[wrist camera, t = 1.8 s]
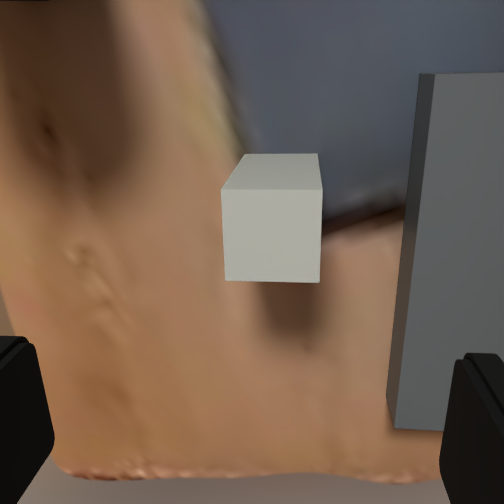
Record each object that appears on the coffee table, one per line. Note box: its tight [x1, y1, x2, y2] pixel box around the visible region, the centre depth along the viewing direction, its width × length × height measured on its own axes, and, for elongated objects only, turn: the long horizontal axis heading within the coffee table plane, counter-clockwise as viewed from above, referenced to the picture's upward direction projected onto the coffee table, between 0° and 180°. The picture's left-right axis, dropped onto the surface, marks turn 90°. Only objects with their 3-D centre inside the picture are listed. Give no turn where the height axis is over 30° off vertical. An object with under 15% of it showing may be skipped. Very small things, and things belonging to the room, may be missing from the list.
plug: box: [221, 154, 323, 283], centre depth 22 cm, size 4×4×8 cm
